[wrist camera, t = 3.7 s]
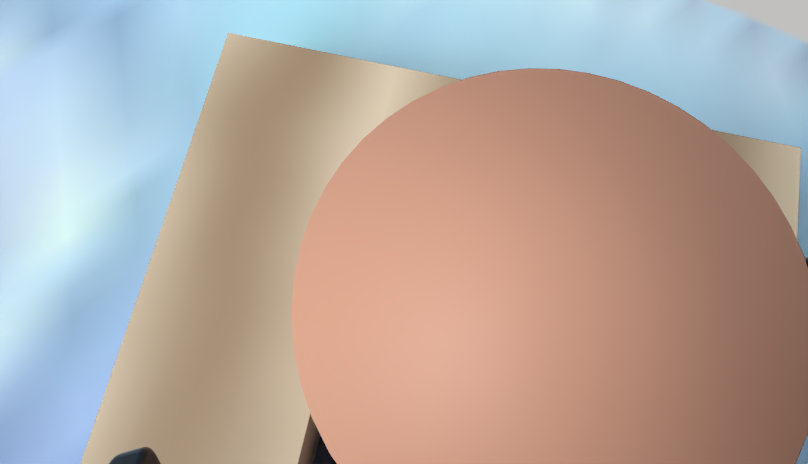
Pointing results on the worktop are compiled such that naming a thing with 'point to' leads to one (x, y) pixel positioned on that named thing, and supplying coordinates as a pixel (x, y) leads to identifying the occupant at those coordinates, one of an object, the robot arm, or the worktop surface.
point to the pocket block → (264, 255)
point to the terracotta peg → (551, 286)
